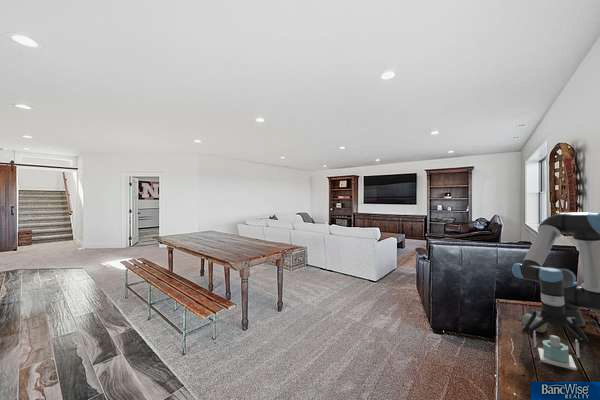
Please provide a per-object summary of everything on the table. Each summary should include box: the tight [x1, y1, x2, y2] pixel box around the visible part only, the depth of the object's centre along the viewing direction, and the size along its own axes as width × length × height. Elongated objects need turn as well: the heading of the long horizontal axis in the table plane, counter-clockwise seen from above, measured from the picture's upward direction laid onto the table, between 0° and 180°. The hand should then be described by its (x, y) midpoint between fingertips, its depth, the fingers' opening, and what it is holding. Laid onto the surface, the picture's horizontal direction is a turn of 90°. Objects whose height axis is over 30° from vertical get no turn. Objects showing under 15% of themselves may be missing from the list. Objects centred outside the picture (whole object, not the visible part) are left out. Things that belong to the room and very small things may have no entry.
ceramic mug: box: [522, 313, 548, 334], centre depth 140 cm, size 11×8×8 cm
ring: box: [542, 339, 570, 362], centre depth 114 cm, size 8×8×5 cm
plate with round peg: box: [537, 334, 578, 372], centre depth 114 cm, size 11×11×10 cm
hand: (555, 350), depth 114 cm, fingers open, 13 cm apart
